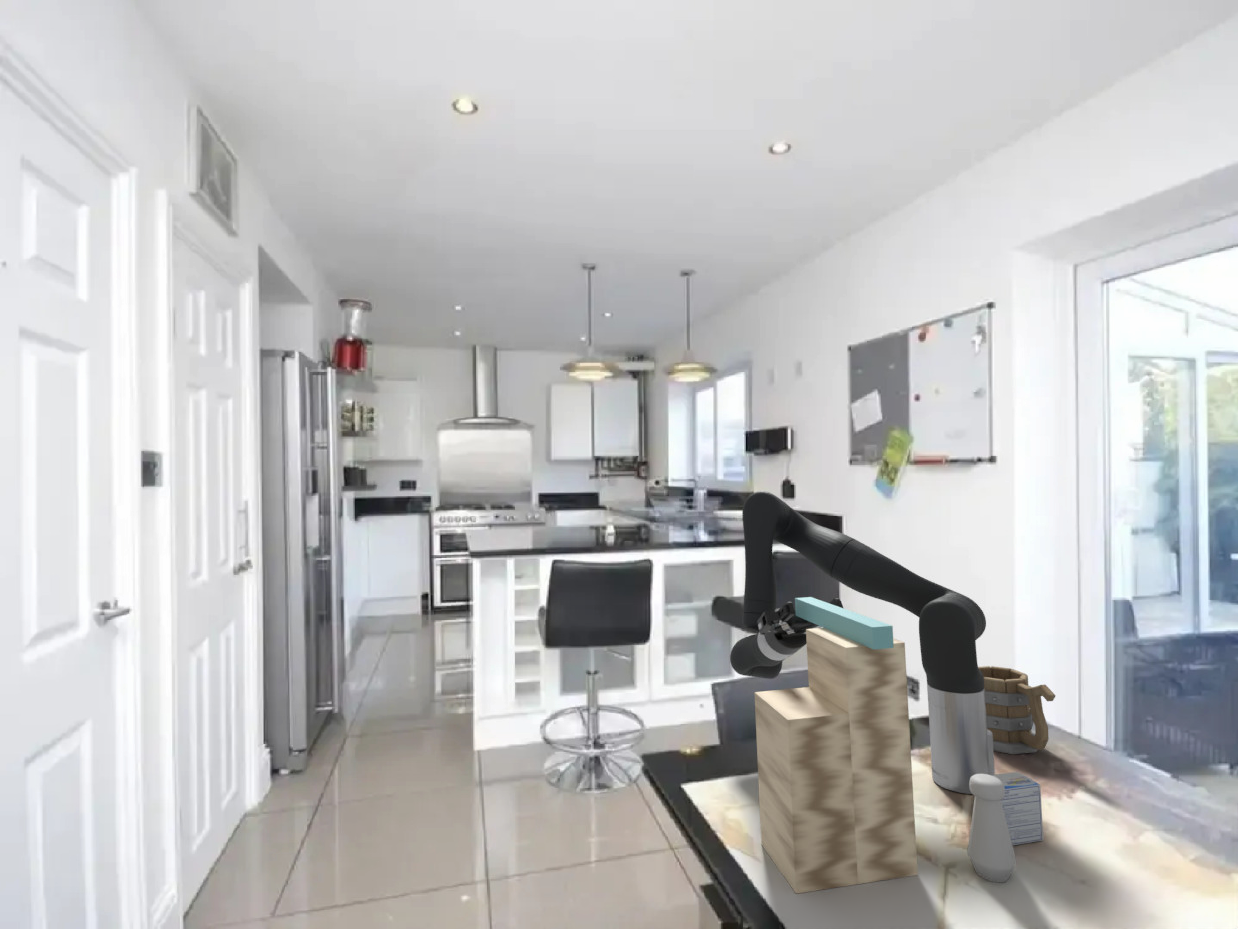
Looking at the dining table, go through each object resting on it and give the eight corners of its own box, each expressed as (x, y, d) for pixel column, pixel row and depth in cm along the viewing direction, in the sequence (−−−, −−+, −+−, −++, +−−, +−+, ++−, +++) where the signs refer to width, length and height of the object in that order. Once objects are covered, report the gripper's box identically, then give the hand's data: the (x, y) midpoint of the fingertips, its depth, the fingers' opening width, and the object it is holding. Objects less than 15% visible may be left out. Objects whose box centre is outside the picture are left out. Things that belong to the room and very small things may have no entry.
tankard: (953, 732, 135) (949, 662, 136) (1007, 727, 136) (1003, 657, 137) (1023, 773, 115) (1018, 691, 116) (1085, 767, 117) (1080, 686, 117)
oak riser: (869, 829, 99) (858, 624, 100) (917, 874, 87) (904, 642, 88) (761, 844, 96) (751, 633, 97) (796, 893, 84) (784, 653, 85)
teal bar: (811, 614, 109) (810, 597, 110) (893, 647, 86) (892, 625, 86) (795, 615, 109) (794, 598, 109) (873, 649, 85) (872, 627, 85)
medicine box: (1020, 826, 98) (1017, 770, 98) (1044, 842, 94) (1041, 783, 94) (976, 833, 97) (972, 776, 97) (998, 849, 92) (994, 789, 93)
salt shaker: (1024, 888, 83) (1018, 789, 84) (977, 885, 84) (971, 786, 85) (1006, 862, 89) (1000, 769, 89) (962, 859, 90) (957, 767, 91)
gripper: (742, 618, 119) (770, 587, 105) (812, 613, 121) (848, 581, 108) (751, 658, 115) (781, 630, 102) (823, 652, 117) (862, 624, 104)
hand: (815, 605), depth 105 cm, fingers open, 8 cm apart
